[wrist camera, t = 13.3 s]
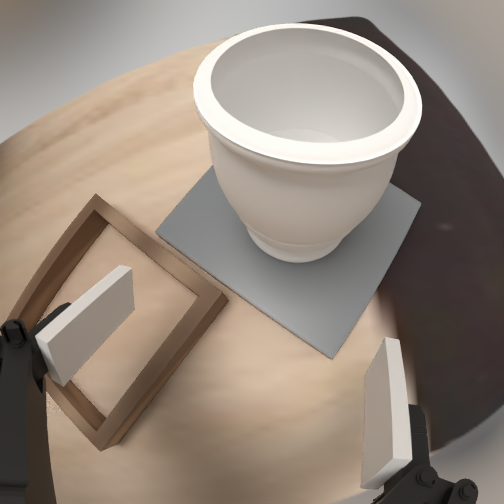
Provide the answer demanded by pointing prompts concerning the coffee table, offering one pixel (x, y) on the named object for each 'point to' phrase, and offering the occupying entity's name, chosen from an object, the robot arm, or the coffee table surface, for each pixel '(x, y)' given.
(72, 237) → the collar
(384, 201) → the board
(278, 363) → the coffee table surface
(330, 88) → the jar
